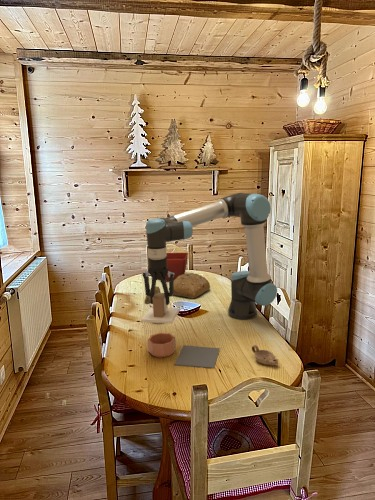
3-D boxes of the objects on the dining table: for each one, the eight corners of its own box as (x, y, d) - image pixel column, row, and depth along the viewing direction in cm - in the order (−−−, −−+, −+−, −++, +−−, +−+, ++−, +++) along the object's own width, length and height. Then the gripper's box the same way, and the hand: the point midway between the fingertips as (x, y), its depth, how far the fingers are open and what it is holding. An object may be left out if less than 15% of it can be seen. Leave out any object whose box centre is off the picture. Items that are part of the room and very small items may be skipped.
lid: (179, 310, 161) (178, 291, 159) (171, 323, 149) (170, 302, 146) (151, 309, 164) (149, 290, 162) (141, 321, 151) (139, 300, 149)
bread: (195, 301, 217) (194, 281, 215) (165, 295, 229) (164, 277, 226) (214, 289, 237) (214, 271, 235) (186, 284, 249) (186, 267, 246)
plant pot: (162, 274, 271) (161, 252, 268) (188, 274, 269) (188, 252, 266) (158, 283, 253) (157, 259, 249) (186, 283, 251) (185, 259, 247)
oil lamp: (282, 365, 146) (283, 354, 145) (268, 371, 142) (269, 359, 141) (259, 352, 157) (259, 341, 156) (246, 357, 153) (246, 346, 152)
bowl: (177, 346, 164) (177, 333, 162) (171, 359, 153) (170, 345, 152) (153, 344, 166) (153, 332, 165) (145, 356, 156) (145, 343, 154)
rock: (142, 302, 212) (159, 299, 211) (141, 287, 216) (158, 285, 214) (147, 307, 222) (163, 304, 221) (146, 293, 225) (162, 291, 224)
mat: (219, 349, 160) (219, 348, 160) (213, 368, 145) (213, 367, 145) (183, 346, 164) (183, 345, 164) (174, 365, 148) (174, 364, 148)
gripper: (134, 259, 149) (138, 313, 154) (175, 260, 145) (178, 316, 150) (140, 254, 156) (144, 307, 161) (180, 255, 152) (182, 308, 157)
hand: (160, 311), depth 156 cm, fingers closed on lid, 4 cm apart
